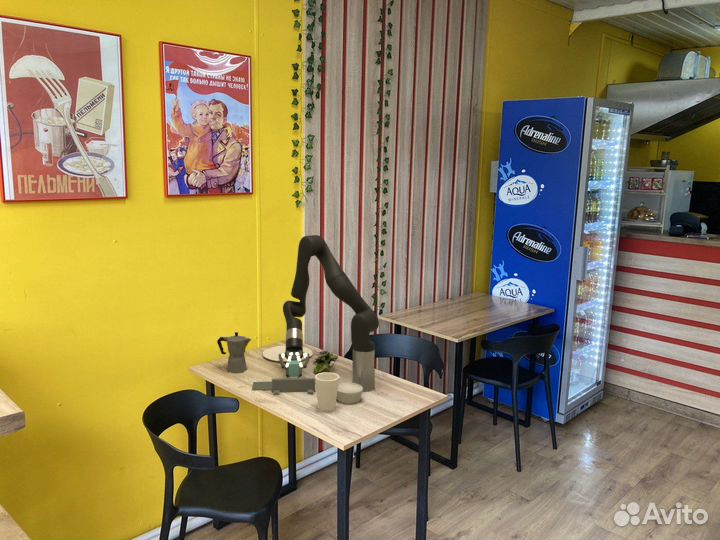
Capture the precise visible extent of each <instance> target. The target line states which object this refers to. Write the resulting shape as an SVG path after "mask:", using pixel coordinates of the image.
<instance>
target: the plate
mask: <svg viewBox="0 0 720 540" xmlns="http://www.w3.org/2000/svg"><path fill="white" fill-rule="evenodd" d="M285 351H286V344H285V345H278V346H277V345H276V346H273V347H268V348H267V349H265V350H263V352H262V356H263V358H264V359H267V360H269V361H273V362H279V363H280V361H279V354H281V355H282V354H284V353H285ZM303 352H304V354H310V358H311V357H312V356H313V353H314V352H313V351H312V350H311V349H310V348H309V347H306V346H303ZM303 360H304V361H305V358H304V356H303V357H302V359H301V361H303ZM283 362H284V363H287V359H286V357H284V359H283Z"/></svg>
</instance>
